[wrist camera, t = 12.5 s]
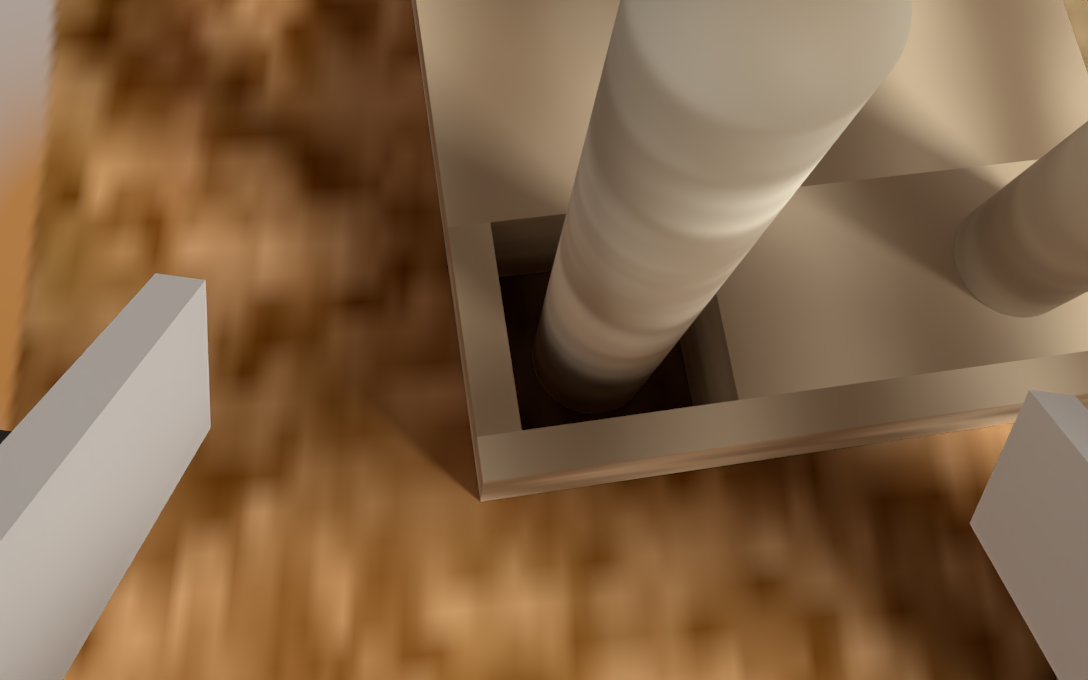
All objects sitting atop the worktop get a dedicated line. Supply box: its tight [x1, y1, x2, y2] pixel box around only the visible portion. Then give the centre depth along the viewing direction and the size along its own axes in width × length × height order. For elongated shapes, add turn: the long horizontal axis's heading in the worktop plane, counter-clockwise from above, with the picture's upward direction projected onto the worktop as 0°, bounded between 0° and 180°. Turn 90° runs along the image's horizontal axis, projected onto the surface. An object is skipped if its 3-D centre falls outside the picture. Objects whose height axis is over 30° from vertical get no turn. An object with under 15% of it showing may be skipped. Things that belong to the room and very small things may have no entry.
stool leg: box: [532, 0, 912, 414], centre depth 18 cm, size 3×3×16 cm
